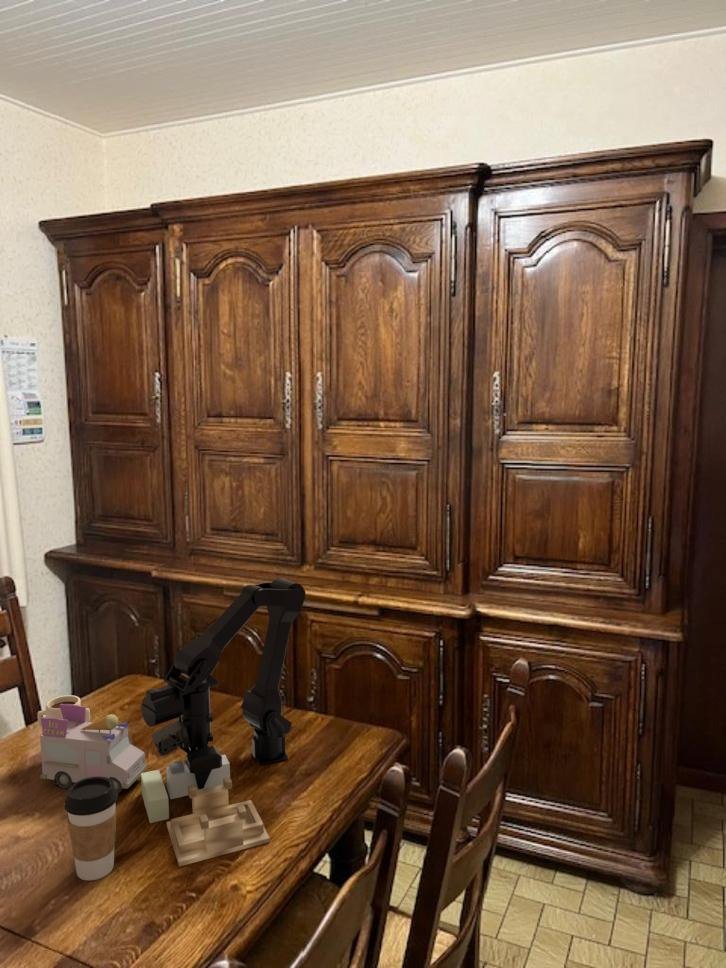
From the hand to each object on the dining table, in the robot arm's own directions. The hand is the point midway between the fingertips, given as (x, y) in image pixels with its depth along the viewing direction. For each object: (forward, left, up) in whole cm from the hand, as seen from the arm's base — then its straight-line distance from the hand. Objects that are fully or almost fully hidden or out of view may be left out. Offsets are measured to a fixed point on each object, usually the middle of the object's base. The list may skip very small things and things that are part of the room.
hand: (198, 782), depth 146 cm
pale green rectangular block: (+9, +3, -1) cm, 10 cm away
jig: (0, +17, -1) cm, 17 cm away
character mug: (+24, -24, -1) cm, 34 cm away
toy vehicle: (+19, -11, -1) cm, 22 cm away
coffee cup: (+21, +18, -1) cm, 28 cm away
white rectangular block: (0, 0, -1) cm, 1 cm away
